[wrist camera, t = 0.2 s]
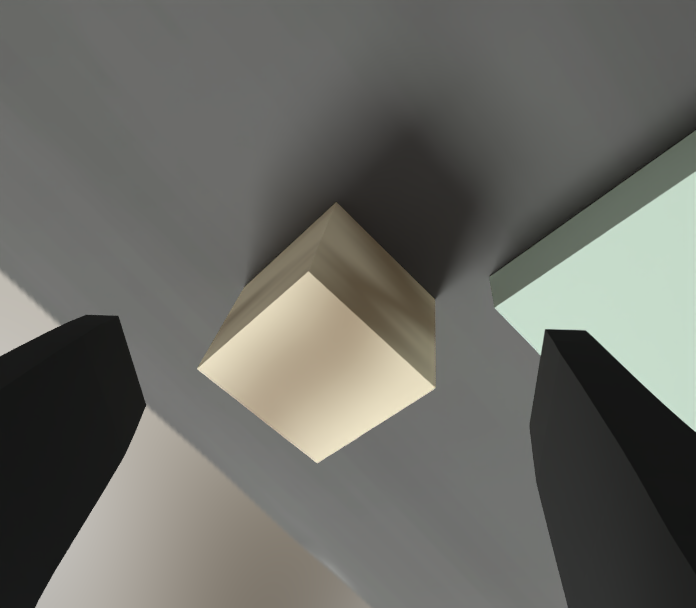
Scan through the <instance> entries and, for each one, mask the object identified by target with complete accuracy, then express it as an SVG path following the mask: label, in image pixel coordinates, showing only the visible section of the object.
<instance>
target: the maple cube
mask: <svg viewBox="0 0 696 608" xmlns="http://www.w3.org/2000/svg"><path fill="white" fill-rule="evenodd" d="M197 369H198V370H199V371H200V372H202V373H203V374H204V375H205V376H207V377H208V378H209V379H210V380H212V381H213V382H214V383H216V384H217V385H218V386H219V387H221V388H222V389H223V390H225V391H226V392H227V393H228V394H230V395H231V396H232V397H233V398H235V399H236V400H237V401H239V402H240V403H241V404H242V405H244V406H245V407H246V408H247V409H249V410H250V411H251V412H253V413H254V414H255V415H256V416H258V417H259V418H260V419H261V420H263V421H264V422H265V423H267V424H268V425H269V426H270V427H272V428H273V429H274V430H276V431H277V432H278V433H279V434H281V435H282V436H283V437H284V438H286V439H287V440H288V441H290V442H291V443H292V444H293V445H295V446H296V447H297V448H298V449H300V450H301V451H302V452H304V453H305V454H306V455H307V456H309V457H310V458H311V459H312V460H314V461H315V462H316V463H318V462H320V461H322V460H323V459H325V458H326V457H328V456H329V455H331V454H333V453H334V452H336V451H337V450H339V449H341V448H342V447H344V446H345V445H347V444H348V443H350V442H352V441H353V440H355V439H356V438H358V437H359V436H361V435H363V434H364V433H366V432H367V431H369V430H370V429H372V428H374V427H375V426H377V425H378V424H380V423H381V422H383V421H385V420H386V419H388V418H389V417H391V416H392V415H394V414H396V413H397V412H399V411H400V410H402V409H404V408H405V407H407V406H408V405H410V404H411V403H413V402H415V401H416V400H418V399H419V398H421V397H422V396H424V395H426V394H427V393H429V392H430V391H432V390H433V389H435V388H436V369H435V299H434V298H433V297H432V296H431V295H430V294H429V293H428V292H427V291H426V290H425V289H424V288H423V287H422V286H421V285H420V284H419V283H418V282H417V281H416V280H415V279H414V278H413V277H412V276H411V275H410V274H409V273H408V272H407V271H406V270H405V269H404V268H403V267H402V266H401V265H400V264H399V263H398V262H397V261H396V260H395V259H394V258H393V257H392V256H391V255H389V254H388V253H387V252H386V251H385V250H384V249H383V248H382V247H381V246H380V245H379V244H378V243H377V242H376V241H375V240H374V239H373V238H372V237H371V236H370V235H369V234H368V233H367V232H366V231H365V230H364V229H363V228H362V227H361V226H360V225H359V224H358V223H357V222H356V221H355V220H354V219H353V218H352V217H351V216H350V215H349V214H348V213H347V212H346V211H345V210H344V209H343V208H342V207H341V206H340V205H339V204H338V203H337V202H336V203H335V204H334V205H332V206H331V207H330V208H329V209H328V210H327V211H326V212H325V213H324V214H323V215H322V216H321V217H320V218H318V219H317V220H316V221H315V222H314V223H313V224H312V225H311V226H310V227H309V228H308V229H307V230H305V231H304V232H303V233H302V234H301V235H300V236H299V237H298V238H297V239H296V240H295V241H294V242H293V243H291V244H290V245H289V246H288V247H287V248H286V249H285V250H284V251H283V252H282V253H281V254H280V255H278V256H277V257H276V258H275V259H274V260H273V261H272V262H271V263H270V264H269V265H268V266H267V267H266V268H264V269H263V270H262V271H261V272H260V273H259V274H258V275H257V276H256V277H255V278H254V279H253V280H252V281H250V282H249V283H248V284H247V285H246V286H245V287H244V288H243V290H242V292H241V294H240V295H239V297H238V299H237V300H236V302H235V304H234V306H233V307H232V309H231V311H230V313H229V314H228V316H227V318H226V319H225V321H224V323H223V325H222V326H221V328H220V330H219V332H218V333H217V335H216V337H215V338H214V340H213V342H212V344H211V345H210V347H209V349H208V351H207V352H206V354H205V356H204V357H203V359H202V361H201V363H200V364H199V366H198V368H197Z"/></svg>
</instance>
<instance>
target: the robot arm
mask: <svg viewBox="0 0 696 608" xmlns="http://www.w3.org/2000/svg"><path fill="white" fill-rule="evenodd" d="M145 407H146V403H145V400H144V397H143V394H142V390H141V387H140V384H139V381H138V378H137V374H136V371H135V368H134V365H133V362H132V358H131V355H130V352H129V349H128V346H127V342H126V339H125V336H124V333H123V329H122V326H121V323H120V320H119V317H118V316H106V315H85V316H82V317H80V318H77V319H75V320H72V321H70V322H68V323H65V324H63V325H61V326H59V327H57V328H55V329H53V330H51V331H49V332H47V333H45V334H43V335H41V336H39V337H37V338H35V339H33V340H31V341H29V342H27V343H25V344H23V345H21V346H19V347H17V348H15V349H13V350H11V351H10V352H8V353H6V354H4V355H2V356H0V608H35V606H36V604H37V602H38V600H39V598H40V597H41V595H42V593H43V591H44V589H45V588H46V586H47V584H48V582H49V581H50V579H51V577H52V575H53V573H54V572H55V570H56V568H57V566H58V565H59V563H60V562H61V560H62V558H63V557H64V555H65V554H66V552H67V550H68V549H69V547H70V545H71V543H72V542H73V540H74V538H75V537H76V536H77V534H78V532H79V530H80V529H81V527H82V526H83V524H84V522H85V521H86V519H87V517H88V516H89V514H90V513H91V511H92V509H93V508H94V506H95V504H96V503H97V501H98V500H99V498H100V496H101V495H102V493H103V491H104V490H105V488H106V486H107V485H108V483H109V481H110V479H111V478H112V476H113V474H114V473H115V471H116V469H117V468H118V466H119V464H120V463H121V461H122V459H123V457H124V455H125V454H126V451H127V449H128V447H129V445H130V442H131V440H132V438H133V436H134V434H135V431H136V429H137V426H138V424H139V421H140V419H141V416H142V414H143V411H144V409H145ZM530 434H531V443H532V452H533V460H534V467H535V475H536V482H537V487H538V491H539V495H540V499H541V503H542V507H543V511H544V515H545V519H546V523H547V527H548V531H549V535H550V539H551V543H552V547H553V550H554V554H555V558H556V562H557V566H558V570H559V574H560V578H561V582H562V586H563V590H564V593H565V597H566V601H567V605H568V608H696V432H695V431H694V430H693V429H692V428H690V427H689V426H688V425H687V424H686V423H685V422H683V421H682V420H681V419H680V418H679V417H678V416H677V415H675V414H674V413H673V412H672V411H671V410H670V409H669V408H668V407H667V406H665V405H664V404H663V403H662V402H661V401H660V400H659V399H658V398H657V397H656V396H654V395H653V394H652V393H651V392H650V391H649V390H648V389H647V388H646V387H645V386H644V385H643V384H642V383H641V382H639V381H638V380H637V379H636V378H635V377H634V376H633V375H632V374H631V373H630V372H629V371H628V370H627V369H626V368H625V367H624V366H623V365H622V364H621V363H620V362H619V361H618V360H617V359H616V358H614V357H613V356H612V355H611V354H610V353H609V352H608V351H607V350H606V349H605V348H604V347H603V346H602V345H601V344H600V343H599V342H598V341H597V340H596V339H595V338H594V337H593V336H592V335H590V334H589V333H588V332H587V331H586V330H561V329H545V332H544V338H543V345H542V351H541V357H540V363H539V370H538V376H537V382H536V388H535V395H534V401H533V407H532V413H531V420H530Z"/></svg>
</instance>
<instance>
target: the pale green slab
mask: <svg viewBox="0 0 696 608" xmlns="http://www.w3.org/2000/svg"><path fill="white" fill-rule="evenodd" d="M489 279H490V285H491V291H492V296H493V302H494V307H495V309H496V310H497V311H498V312H499V313H500V314H501V315H502V316H503V317H504V318H505V319H506V320H507V321H508V322H509V323H510V324H511V325H512V326H513V327H514V328H515V329H516V330H517V331H518V332H519V333H520V334H521V335H522V336H523V338H524V339H525V340H526V341H527V342H528V343H529V344H530V345H531V346H532V347H533V348H534V349H535V350H536V351H537V352H538V353H539V354H540V355H541V351H542V345H543V338H544V332H545V329H561V330H586V331H587V332H588V333H589V334H590V335H592V336H593V337H594V338H595V339H596V340H597V341H598V342H599V343H600V344H601V345H602V346H603V347H604V348H605V349H606V350H607V351H608V352H609V353H610V354H611V355H612V356H613V357H614V358H616V359H617V360H618V361H619V362H620V363H621V364H622V365H623V366H624V367H625V368H626V369H627V370H628V371H629V372H630V373H631V374H632V375H633V376H634V377H635V378H636V379H637V380H638V381H639V382H641V383H642V384H643V385H644V386H645V387H646V388H647V389H648V390H649V391H650V392H651V393H652V394H653V395H654V396H656V397H657V398H658V399H659V400H660V401H661V402H662V403H663V404H664V405H665V406H667V407H668V408H669V409H670V410H671V411H672V412H673V413H674V414H675V415H677V416H678V417H679V418H680V419H681V420H682V421H683V422H685V423H686V424H687V425H688V426H689V427H690V428H692V429H693V430H694V431H695V432H696V130H695V131H694V132H693V133H691V134H690V135H688V136H687V137H686V138H684V139H683V140H681V141H680V142H679V143H677V144H676V145H674V146H673V147H672V148H670V149H669V150H667V151H666V152H664V153H663V154H662V155H660V156H659V157H657V158H656V159H655V160H653V161H652V162H650V163H649V164H648V165H646V166H645V167H643V168H642V169H641V170H639V171H638V172H636V173H635V174H634V175H632V176H631V177H629V178H628V179H626V180H625V181H624V182H622V183H621V184H619V185H618V186H617V187H615V188H614V189H612V190H611V191H610V192H608V193H607V194H605V195H604V196H603V197H601V198H600V199H598V200H597V201H596V202H594V203H593V204H591V205H590V206H589V207H587V208H586V209H584V210H583V211H581V212H580V213H579V214H577V215H576V216H574V217H573V218H572V219H570V220H569V221H567V222H566V223H565V224H563V225H562V226H560V227H559V228H558V229H556V230H555V231H553V232H552V233H551V234H549V235H548V236H546V237H545V238H544V239H542V240H541V241H539V242H538V243H536V244H535V245H534V246H532V247H531V248H529V249H528V250H527V251H525V252H524V253H522V254H521V255H520V256H518V257H517V258H515V259H514V260H513V261H511V262H510V263H508V264H507V265H506V266H504V267H503V268H501V269H500V270H499V271H497V272H496V273H494V274H493V275H491V276H490V277H489Z"/></svg>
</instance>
